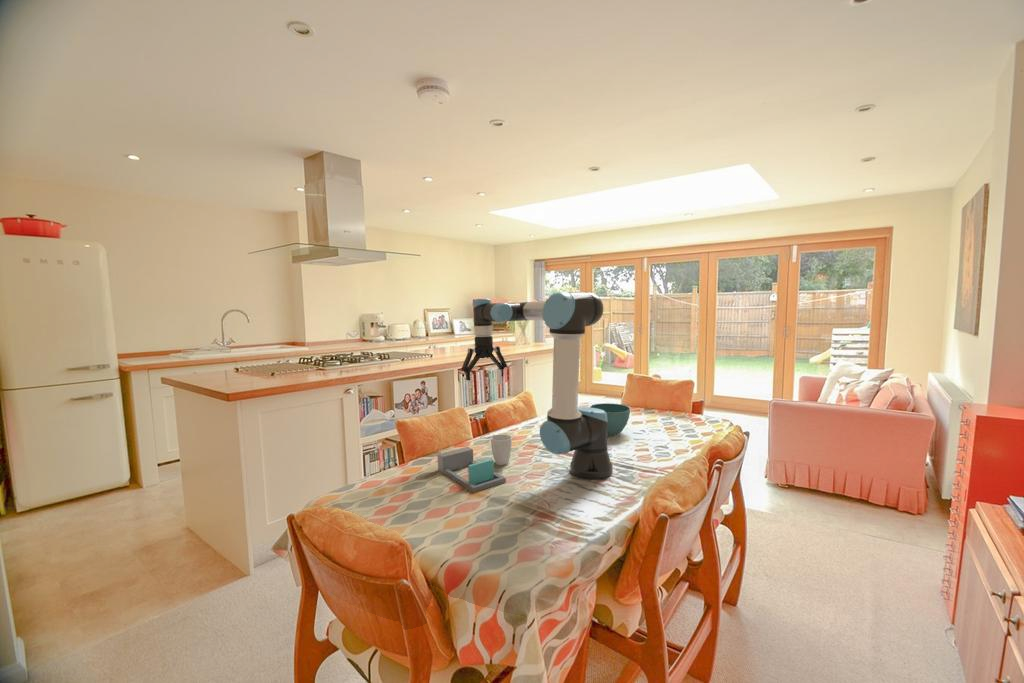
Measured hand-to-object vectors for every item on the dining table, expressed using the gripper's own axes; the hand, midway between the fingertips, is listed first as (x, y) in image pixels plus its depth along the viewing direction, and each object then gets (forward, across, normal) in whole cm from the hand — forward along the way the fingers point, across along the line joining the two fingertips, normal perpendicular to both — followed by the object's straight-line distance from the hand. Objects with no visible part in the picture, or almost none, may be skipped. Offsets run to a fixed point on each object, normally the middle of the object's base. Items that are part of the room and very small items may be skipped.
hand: (485, 386), depth 183 cm
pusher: (+27, +17, +29) cm, 43 cm away
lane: (+27, +18, +23) cm, 40 cm away
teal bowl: (+27, -57, +12) cm, 65 cm away
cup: (+27, +2, +18) cm, 33 cm away
